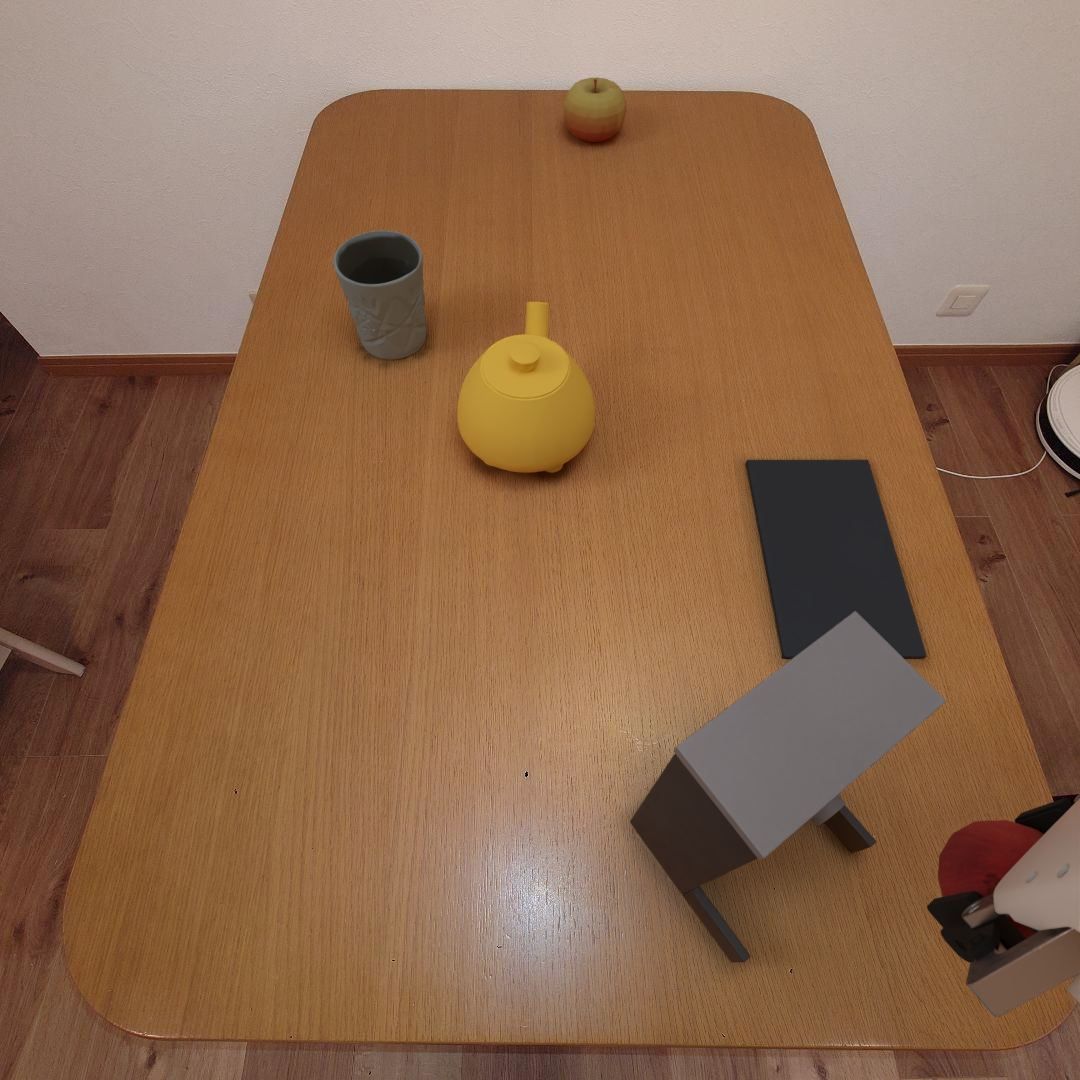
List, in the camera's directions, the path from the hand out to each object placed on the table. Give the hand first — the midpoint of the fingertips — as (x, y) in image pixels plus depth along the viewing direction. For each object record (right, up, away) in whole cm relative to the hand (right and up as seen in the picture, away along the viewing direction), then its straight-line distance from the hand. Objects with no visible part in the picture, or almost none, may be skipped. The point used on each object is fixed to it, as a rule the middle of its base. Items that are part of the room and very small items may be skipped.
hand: (1001, 887), depth 34 cm
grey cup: (-41, +43, +59) cm, 84 cm away
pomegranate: (0, -2, +3) cm, 3 cm away
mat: (+9, +15, +42) cm, 46 cm away
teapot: (-24, +31, +51) cm, 64 cm away
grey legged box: (-5, -9, +28) cm, 29 cm away
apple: (-14, +83, +82) cm, 118 cm away
